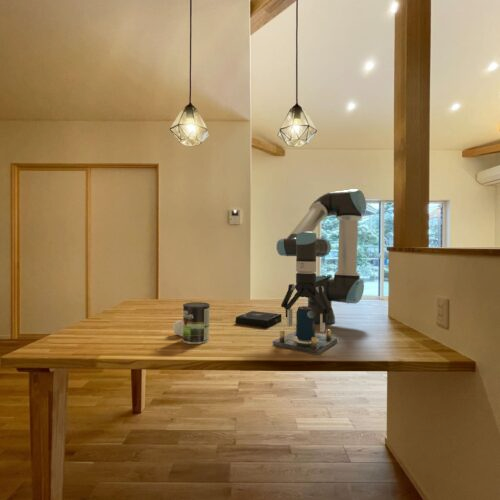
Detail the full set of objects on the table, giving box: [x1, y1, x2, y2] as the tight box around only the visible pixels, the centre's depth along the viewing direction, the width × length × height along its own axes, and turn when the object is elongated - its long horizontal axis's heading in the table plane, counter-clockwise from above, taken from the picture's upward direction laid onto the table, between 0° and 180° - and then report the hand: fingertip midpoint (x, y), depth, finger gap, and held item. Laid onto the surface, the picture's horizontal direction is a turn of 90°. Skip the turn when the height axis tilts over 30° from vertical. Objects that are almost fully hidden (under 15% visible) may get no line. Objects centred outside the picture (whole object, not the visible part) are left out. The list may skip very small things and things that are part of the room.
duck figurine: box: [172, 311, 183, 337], centre depth 133 cm, size 12×8×11 cm
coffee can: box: [182, 301, 211, 345], centre depth 124 cm, size 10×10×14 cm
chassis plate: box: [272, 328, 338, 355], centre depth 120 cm, size 18×18×5 cm
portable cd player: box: [234, 310, 282, 329], centre depth 155 cm, size 16×17×4 cm
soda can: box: [295, 305, 316, 341], centre depth 120 cm, size 7×7×12 cm
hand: (305, 328), depth 120 cm, fingers open, 13 cm apart
